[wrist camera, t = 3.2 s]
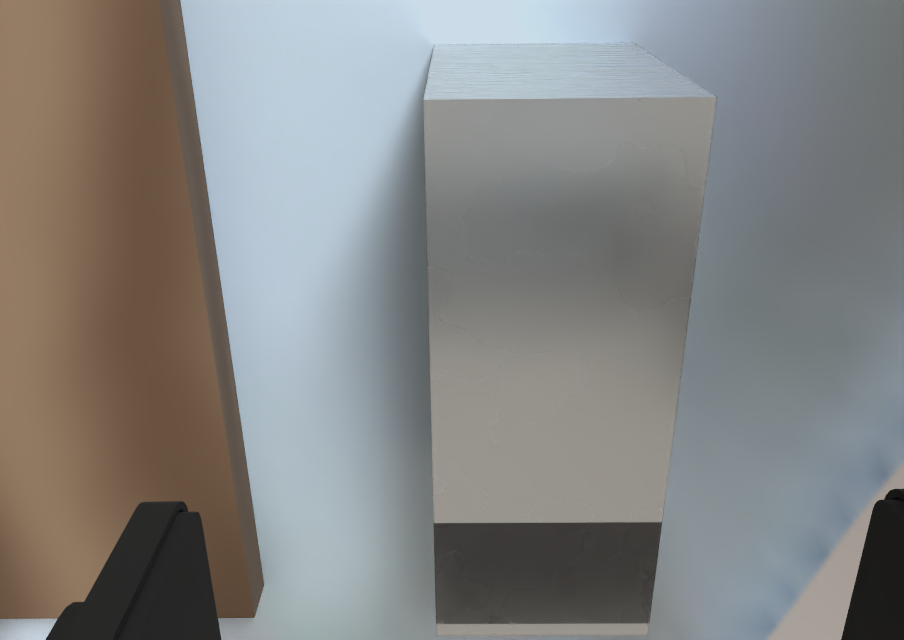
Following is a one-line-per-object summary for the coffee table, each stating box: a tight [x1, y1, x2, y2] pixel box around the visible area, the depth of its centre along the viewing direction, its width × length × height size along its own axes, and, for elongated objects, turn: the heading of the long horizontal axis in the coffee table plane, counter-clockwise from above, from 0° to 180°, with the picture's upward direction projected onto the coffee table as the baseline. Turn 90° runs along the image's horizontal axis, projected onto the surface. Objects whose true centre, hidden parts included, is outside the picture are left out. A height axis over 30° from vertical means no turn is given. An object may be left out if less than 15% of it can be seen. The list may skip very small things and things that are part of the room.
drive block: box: [423, 43, 717, 636], centre depth 16 cm, size 4×10×6 cm, turn 1°
